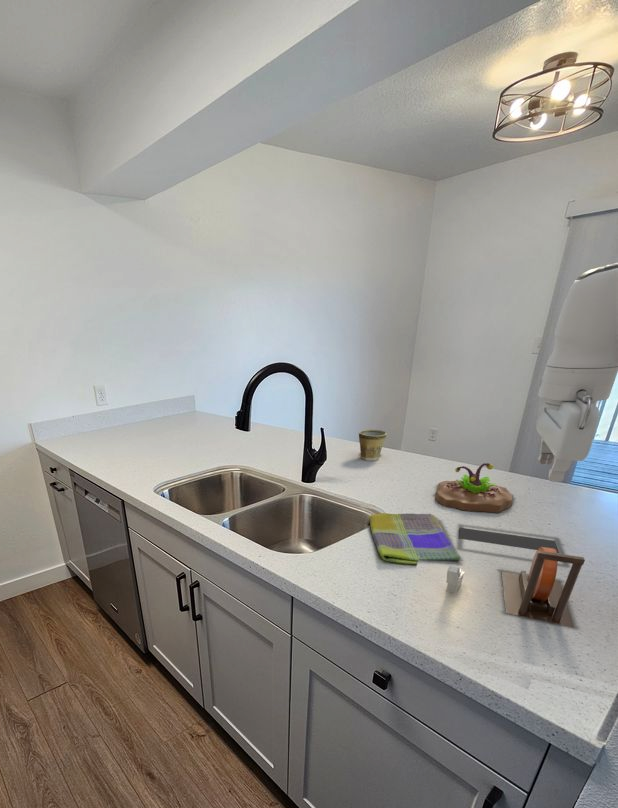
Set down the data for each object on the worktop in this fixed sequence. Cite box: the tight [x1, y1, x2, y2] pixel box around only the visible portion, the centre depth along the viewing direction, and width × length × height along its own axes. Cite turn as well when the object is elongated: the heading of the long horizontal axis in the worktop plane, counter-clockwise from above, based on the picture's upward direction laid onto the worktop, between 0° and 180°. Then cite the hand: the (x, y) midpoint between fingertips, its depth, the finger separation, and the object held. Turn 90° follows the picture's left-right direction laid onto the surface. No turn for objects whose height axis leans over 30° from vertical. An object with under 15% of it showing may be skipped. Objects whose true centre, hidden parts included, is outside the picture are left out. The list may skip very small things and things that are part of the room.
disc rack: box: [500, 551, 586, 628], centre depth 80 cm, size 10×16×14 cm, turn 152°
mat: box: [458, 527, 561, 554], centre depth 102 cm, size 20×14×1 cm
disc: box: [528, 547, 559, 602], centre depth 81 cm, size 2×10×10 cm, turn 152°
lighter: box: [445, 565, 465, 595], centre depth 85 cm, size 7×2×8 cm, turn 139°
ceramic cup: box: [358, 429, 388, 462], centre depth 168 cm, size 13×10×10 cm
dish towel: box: [368, 512, 461, 565], centre depth 107 cm, size 18×24×3 cm
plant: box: [434, 462, 514, 514], centre depth 126 cm, size 20×20×11 cm
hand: (549, 471), depth 73 cm, fingers open, 8 cm apart
